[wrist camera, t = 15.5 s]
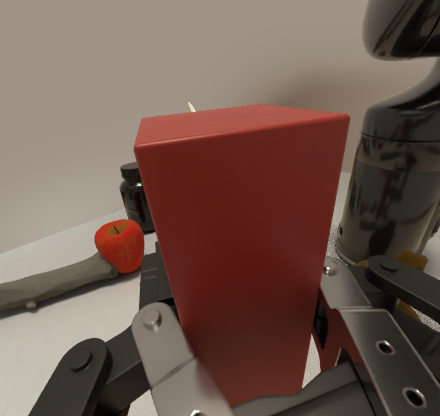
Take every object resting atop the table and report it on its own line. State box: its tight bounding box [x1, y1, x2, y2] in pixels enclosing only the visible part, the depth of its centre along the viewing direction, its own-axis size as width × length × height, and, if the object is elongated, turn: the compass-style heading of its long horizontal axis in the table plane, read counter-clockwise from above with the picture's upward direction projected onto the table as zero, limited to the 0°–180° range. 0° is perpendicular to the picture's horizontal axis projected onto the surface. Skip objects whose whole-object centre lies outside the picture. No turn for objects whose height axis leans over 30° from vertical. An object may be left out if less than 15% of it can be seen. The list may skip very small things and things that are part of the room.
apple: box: [95, 219, 144, 274], centre depth 33 cm, size 6×6×8 cm
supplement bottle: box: [120, 162, 155, 232], centre depth 43 cm, size 7×7×12 cm
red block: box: [134, 104, 350, 407], centre depth 10 cm, size 4×4×14 cm
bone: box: [0, 251, 119, 311], centre depth 30 cm, size 22×6×6 cm, turn 110°
